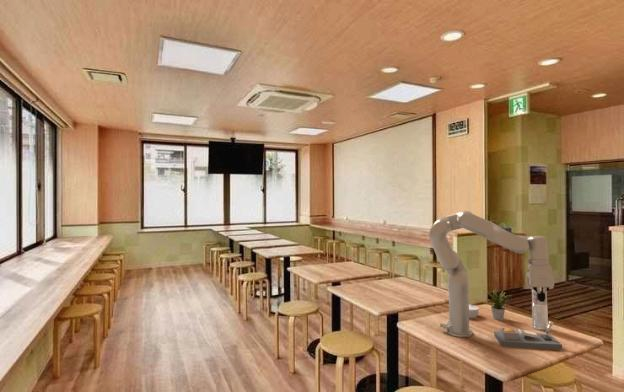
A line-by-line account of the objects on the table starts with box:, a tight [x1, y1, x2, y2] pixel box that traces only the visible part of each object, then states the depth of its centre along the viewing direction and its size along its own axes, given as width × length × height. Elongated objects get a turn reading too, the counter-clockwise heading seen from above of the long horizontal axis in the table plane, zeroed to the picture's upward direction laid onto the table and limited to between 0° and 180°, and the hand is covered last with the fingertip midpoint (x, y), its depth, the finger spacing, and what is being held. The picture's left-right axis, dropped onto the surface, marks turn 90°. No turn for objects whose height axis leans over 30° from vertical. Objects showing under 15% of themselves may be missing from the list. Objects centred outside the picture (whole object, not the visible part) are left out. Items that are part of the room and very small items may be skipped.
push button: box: [504, 327, 514, 333], centre depth 169 cm, size 4×4×3 cm
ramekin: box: [469, 303, 480, 319], centre depth 205 cm, size 11×11×5 cm
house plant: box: [485, 289, 511, 321], centre depth 198 cm, size 14×14×16 cm
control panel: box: [493, 327, 563, 351], centre depth 167 cm, size 25×12×6 cm, turn 78°
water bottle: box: [531, 287, 549, 331], centre depth 184 cm, size 7×7×25 cm
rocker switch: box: [517, 328, 538, 338], centre depth 167 cm, size 7×4×1 cm, turn 78°
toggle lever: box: [543, 320, 554, 336], centre depth 165 cm, size 2×2×8 cm
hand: (541, 301), depth 165 cm, fingers closed
